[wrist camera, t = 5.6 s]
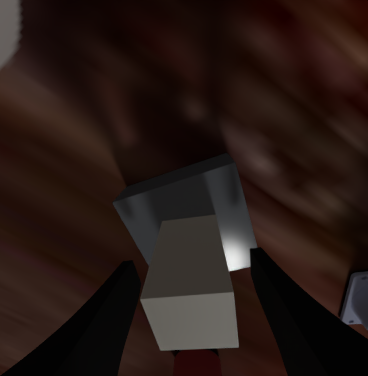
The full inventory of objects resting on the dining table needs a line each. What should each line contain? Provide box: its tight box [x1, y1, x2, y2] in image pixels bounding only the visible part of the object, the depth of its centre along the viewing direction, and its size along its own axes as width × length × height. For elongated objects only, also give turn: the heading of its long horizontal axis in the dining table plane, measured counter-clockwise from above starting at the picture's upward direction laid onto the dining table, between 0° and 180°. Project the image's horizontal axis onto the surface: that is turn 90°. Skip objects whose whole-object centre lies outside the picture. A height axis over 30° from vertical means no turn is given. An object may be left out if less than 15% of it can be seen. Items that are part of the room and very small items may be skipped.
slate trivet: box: [112, 153, 257, 271], centre depth 15 cm, size 9×9×3 cm
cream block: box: [140, 215, 239, 351], centre depth 11 cm, size 4×4×6 cm
